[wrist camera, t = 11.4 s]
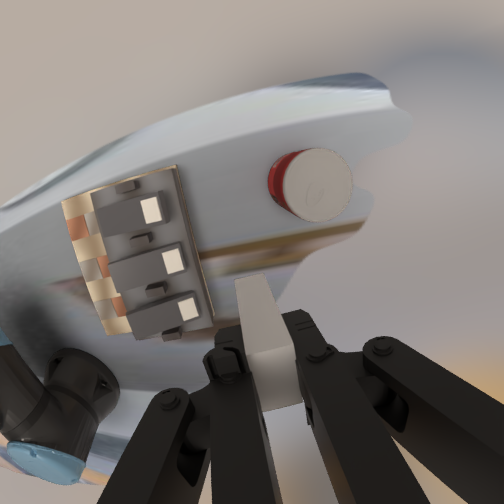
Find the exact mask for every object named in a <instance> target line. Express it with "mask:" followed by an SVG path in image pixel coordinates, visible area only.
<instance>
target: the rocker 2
mask: <svg viewBox="0 0 504 504" xmlns="http://www.w3.org/2000/svg"><path fill="white" fill-rule="evenodd" d="M126 318H127V320H128V323H129V325H130V327H131V330H132V332H133V334H134V337H135V339H136V341H137V340H140V339H143V338H146V337H148V336H151V335H154V334H157V333H160V332H163V331H166V330H169V329H172V328H174V327H177V326H180V325H183V324H186V323H188V322H191V321H194V320H197V319H199V318H201V315H200V312H199V308H198V305H197V302H196V299H195V295H194V293H193V291H192V290H190V291H187V292H184V293H181V294H178V295H175V296H172V297H169V298H166V299H163V300H160V301H157V302H155V303H152V304H149V305H146V306H143V307H140V308H137V309H134V310H131V311H128V312H126Z"/></svg>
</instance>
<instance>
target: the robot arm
mask: <svg viewBox="0 0 504 504" xmlns="http://www.w3.org/2000/svg"><path fill="white" fill-rule="evenodd" d="M234 281H235V288H236V295H237V302H238V308H239V315H240V321H241V325H237V326H232V327H227V328H223V329H219V331H218V332H217V334H216V335H215V348H214V349H212V350H210V351H209V352H208V353H207V354H206V355H205V356H204V358H203V364H204V366H205V369H206V371H207V374H208V377H209V379H210V383H209V384H208V385H207V386H206V387H204V388H203V389H201V390H199V391H196V392H194V393H191V394H188V393H187V392H186V391H185V390H183V389H180V388H169V389H166V390H163V391H161V392H160V393H158V394H157V395H155V396H154V398H153V399H152V400H151V402H150V404H149V406H148V407H147V409H146V411H145V413H144V415H143V417H142V419H141V420H140V422H139V424H138V426H137V428H136V430H135V432H134V433H133V435H132V437H131V439H130V441H129V443H128V445H127V447H126V448H125V450H124V452H123V454H122V456H121V458H120V460H119V462H118V464H117V465H116V467H115V469H114V471H113V473H112V475H111V477H110V479H109V481H108V483H107V485H106V487H105V488H104V490H103V493H102V494H101V496H100V498H99V500H98V502H97V504H198V502H199V498H200V495H201V492H202V488H203V485H204V481H205V478H206V474H207V471H208V467H209V464H210V460H211V487H212V504H283V502H282V497H281V493H280V488H279V484H278V480H277V475H276V471H275V466H274V461H273V457H272V452H271V447H270V443H269V438H268V433H267V428H266V424H265V420H264V417H263V413H262V412H266V411H271V410H275V409H279V408H283V407H287V406H291V405H295V404H299V403H302V402H303V400H304V403H305V409H306V416H307V423H308V425H311V428H312V430H313V433H314V436H315V439H316V442H317V444H318V447H319V450H320V453H321V455H322V458H323V461H324V464H325V467H326V470H327V472H328V475H329V478H330V481H331V483H332V486H333V489H334V492H335V495H336V497H337V500H338V503H339V504H430V502H429V500H428V498H427V497H426V495H425V493H424V491H423V490H422V488H421V486H420V484H419V483H418V481H417V479H416V478H415V476H414V474H413V473H412V471H411V469H410V467H409V466H408V464H407V462H406V461H405V459H404V457H403V456H402V454H401V452H400V451H399V449H398V447H397V446H396V444H395V442H394V441H393V439H392V437H393V438H394V439H395V440H396V441H397V442H398V443H399V444H400V445H402V446H403V447H404V448H405V449H406V450H407V451H408V452H409V453H410V454H411V455H413V456H414V457H415V458H416V459H417V460H418V461H419V462H420V463H422V464H423V465H424V466H425V467H426V468H427V469H428V470H429V471H431V472H432V473H433V474H434V475H435V476H436V477H437V478H439V479H440V480H441V481H442V482H443V483H444V484H446V485H447V486H448V487H449V488H450V489H451V490H453V491H454V492H455V493H456V494H457V495H458V496H460V497H461V498H462V499H463V500H464V501H466V502H467V503H468V504H504V405H503V404H502V403H500V402H499V401H497V400H495V399H494V398H492V397H490V396H489V395H487V394H486V393H484V392H482V391H481V390H479V389H477V388H476V387H474V386H472V385H471V384H469V383H468V382H466V381H464V380H463V379H461V378H459V377H458V376H456V375H455V374H453V373H451V372H449V371H448V370H446V369H445V368H443V367H442V366H440V365H438V364H437V363H435V362H433V361H432V360H430V359H428V358H427V357H425V356H424V355H422V354H420V353H419V352H417V351H415V350H414V349H412V348H410V347H409V346H407V345H406V344H404V343H402V342H401V341H399V340H397V339H395V338H393V337H388V336H381V337H375V338H373V339H370V340H369V341H368V342H366V343H365V345H364V346H363V351H360V352H348V353H345V352H339V351H338V350H337V349H336V348H335V347H334V346H333V345H330V344H327V342H326V341H325V339H324V338H323V336H322V334H321V333H320V331H319V329H318V328H317V326H316V324H315V323H314V321H313V319H312V318H311V316H310V315H309V313H307V312H305V311H303V310H301V309H299V310H295V311H292V312H288V313H284V314H280V311H279V309H278V306H277V304H276V302H275V299H274V297H273V295H272V292H271V290H270V287H269V285H268V283H267V280H266V278H265V276H264V273H261V274H257V275H252V276H248V277H244V278H239V279H235V280H234ZM119 394H120V391H119V386H118V383H117V381H116V379H115V377H114V375H113V374H112V373H111V371H110V370H109V369H108V368H107V367H106V366H105V365H104V364H103V363H102V362H101V361H99V360H98V359H96V358H95V357H93V356H92V355H90V354H88V353H86V352H83V351H80V350H77V349H62V350H59V351H57V352H56V353H55V354H54V355H53V356H52V357H51V359H50V360H49V362H48V364H47V366H46V371H45V376H44V382H43V384H42V383H41V382H40V380H39V379H38V378H37V377H36V375H35V374H34V373H33V372H32V370H31V369H30V368H29V366H28V365H27V364H26V362H25V361H24V360H23V358H22V357H21V356H20V354H19V353H18V351H17V350H16V349H15V347H14V346H13V343H12V342H11V341H10V340H9V339H8V338H7V336H6V335H5V334H4V332H3V331H2V329H1V328H0V432H1V433H2V435H3V436H4V437H5V438H6V439H7V440H8V441H9V442H8V443H7V453H8V454H9V455H10V457H11V459H12V460H13V461H14V462H15V463H17V464H18V465H19V466H20V467H22V468H23V469H25V470H26V471H28V472H29V473H31V474H33V475H35V476H37V477H39V478H41V479H43V480H46V481H48V482H51V483H55V484H59V485H72V484H75V483H77V482H78V481H79V479H80V476H81V474H82V472H83V470H84V468H85V467H86V461H87V457H88V454H89V451H90V448H91V445H92V442H93V439H94V437H95V434H96V431H97V428H98V425H99V423H100V422H101V421H102V420H103V419H105V418H106V417H107V416H108V415H109V414H110V413H111V412H112V411H113V409H114V408H115V406H116V404H117V401H118V398H119ZM302 397H303V399H302ZM390 435H391V436H392V437H391V436H390Z"/></svg>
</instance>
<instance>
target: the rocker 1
mask: <svg viewBox="0 0 504 504" xmlns="http://www.w3.org/2000/svg"><path fill="white" fill-rule="evenodd" d="M96 210H97V214H98V218H99V222H100V225H101V229H102V232H103V236H104V238H106V237H110V236H114V235H118V234H123V233H127V232H131V231H136V230H140V229H145V228H149V227H154V226H159V225H163V224H167V223H169V222H170V217H169V214H168V210H167V205H166V201H165V197H164V193H163V190H161V191H157V192H153V193H149V194H146V195H142V196H139V197H135V198H132V199H128V200H125V201H121V202H118V203H115V204H111V205H108V206H105V207H102V208H99V209H96Z"/></svg>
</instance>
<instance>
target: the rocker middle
mask: <svg viewBox="0 0 504 504" xmlns="http://www.w3.org/2000/svg"><path fill="white" fill-rule="evenodd" d="M107 266H108V269H109V272H110V275H111V278H112V281H113V283H114V286H115V289H116V292H117V293H121V292H124V291H127V290H130V289H134V288H137V287H140V286H143V285H147V284H150V283H153V282H156V281H160V280H163V279H166V278H170V277H173V276H176V275H179V274H183V273H186V272H187V269H186V266H185V262H184V259H183V255H182V251H181V248H180V244H179V242H175V243H172V244H169V245H165V246H162V247H159V248H155V249H152V250H149V251H145V252H142V253H139V254H135V255H132V256H129V257H126V258H122V259H119V260H116V261H113V262H110V263H108V265H107Z"/></svg>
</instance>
